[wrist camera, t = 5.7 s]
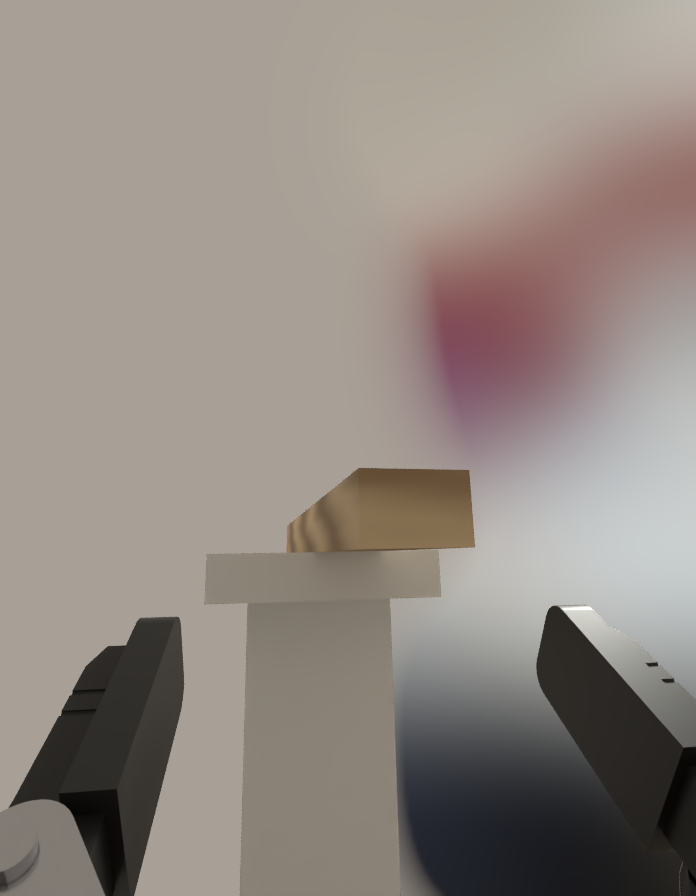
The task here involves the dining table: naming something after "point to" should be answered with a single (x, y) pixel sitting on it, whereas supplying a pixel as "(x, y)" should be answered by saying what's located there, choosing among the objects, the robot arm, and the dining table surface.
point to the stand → (320, 715)
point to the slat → (388, 513)
